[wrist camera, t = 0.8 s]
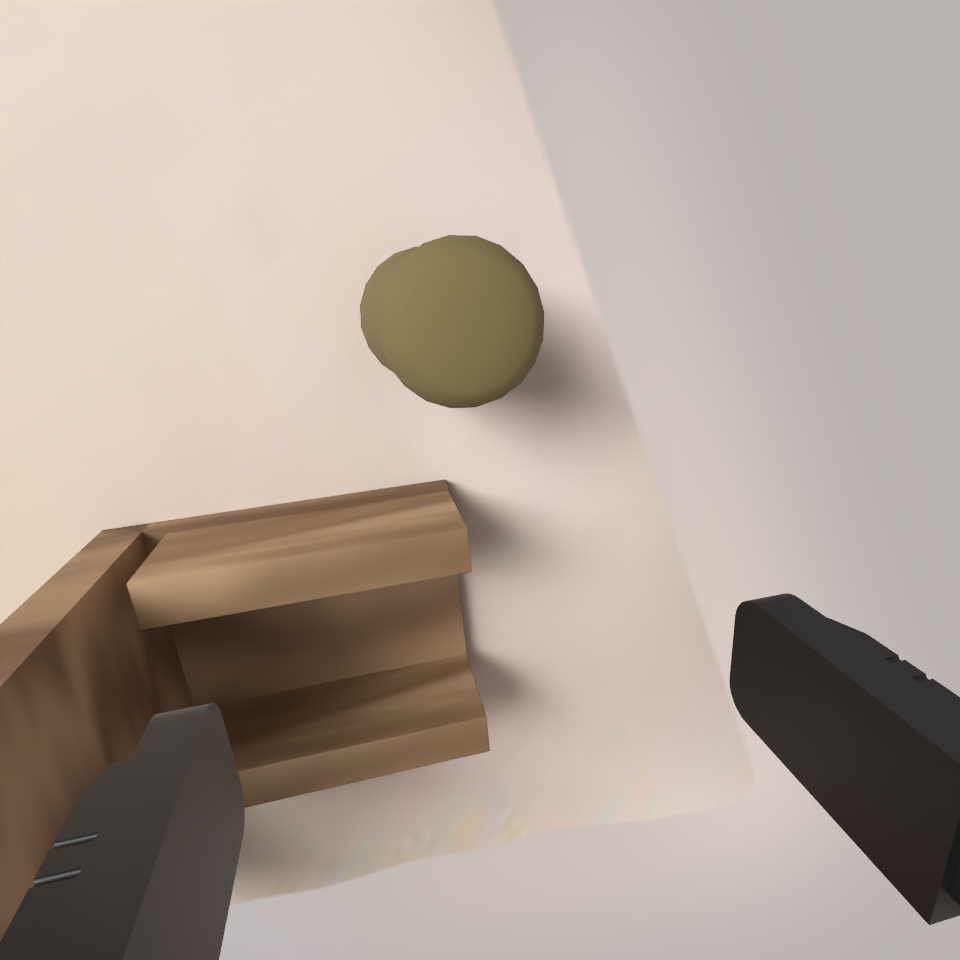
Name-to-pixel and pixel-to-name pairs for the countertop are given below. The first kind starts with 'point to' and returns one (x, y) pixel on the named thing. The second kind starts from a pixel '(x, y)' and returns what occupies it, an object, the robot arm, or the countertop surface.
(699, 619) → the countertop surface
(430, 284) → the olive rounded bulb piece
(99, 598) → the wooden stand
